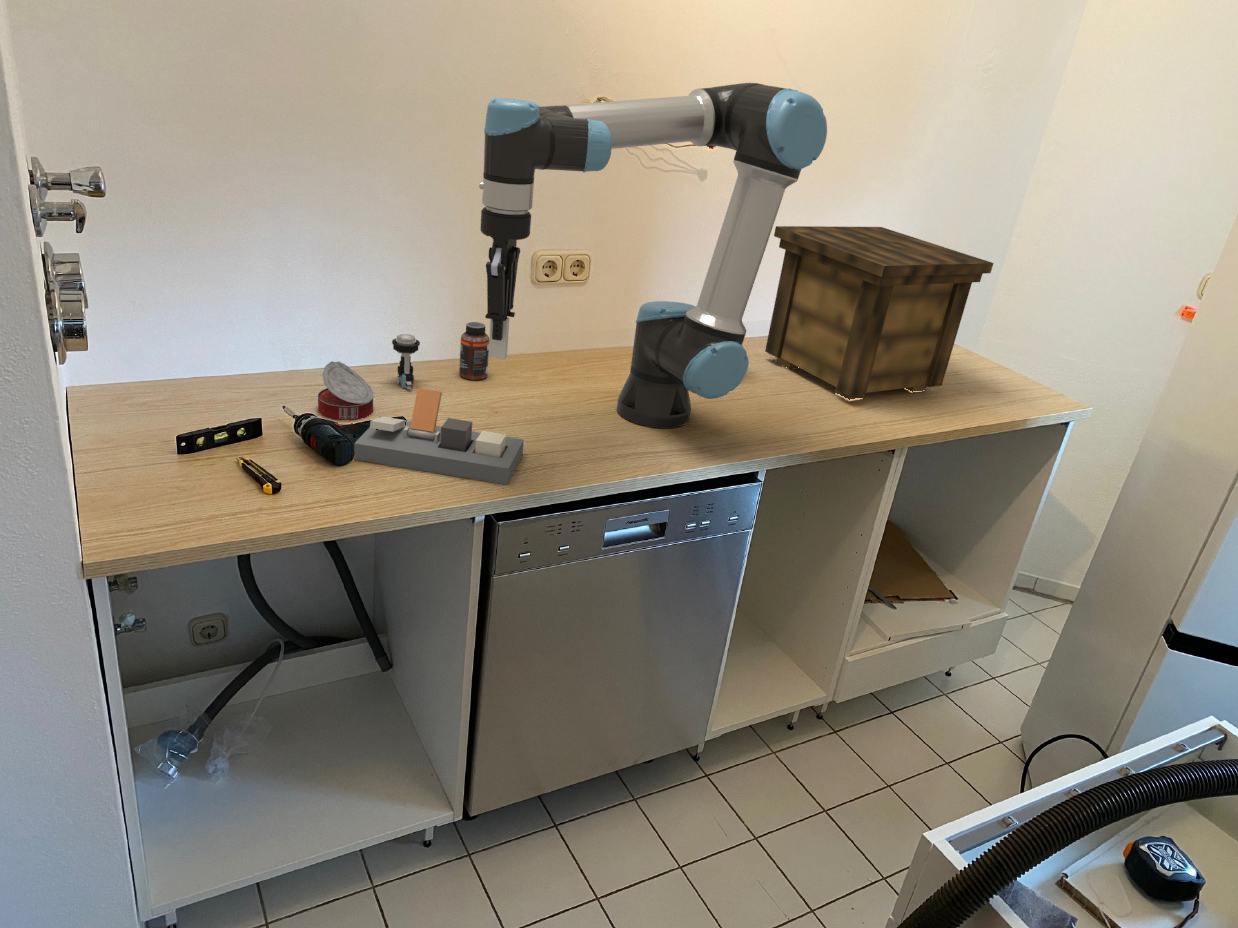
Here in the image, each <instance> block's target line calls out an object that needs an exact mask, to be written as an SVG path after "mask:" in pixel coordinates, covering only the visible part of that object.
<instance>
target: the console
mask: <svg viewBox="0 0 1238 928" xmlns="http://www.w3.org/2000/svg"><path fill="white" fill-rule="evenodd" d="M380 417H381V416H379V417H378V418H380ZM405 422H406V425H405V426H404V427H403V428H401V429H398V430H396V431H394V432H392V431H386V430H380V429H378V430H376V429H374V428H370V427H368V428H367V430H366V431H365V432H364V433H363V434H362V435H361V436H359V438H358V439H357V440H356V441H355V442H354V451H353V452H354V461H362V462H368V463H373V464H379V465H385V466H391V467H396V468H397V467H398V468H402V469H403V468H404V469H407V470H408V469H410V470H415V471H422V472H427V473H432V474H433V473H434V474H439V475H447V476H451V477H458V478H464V479H471V480H474V481H475V480H477V481H481V480H482V481H483V482H489V483H495V484H501V485H508V484H509V482H510V480H511V478H512V477H513V474H514V472H515V470H516V468H517V467H518V465H519V463H520V461H521V459H522V457H523V455H524V454H523V453H524V442H525V440H524V439H521V438H517V437H516V438H514V437H510V436H509V437H508V436H506V445H505V452H504V454H503V456H502V458H500V457H494V456H487V455H481V454H475V447H476V439H477V438H478V436H479V435H480V433H481V432H479V431H473V430H472V437H471V444H470V446H469V447H468V449H467V450H466V452H463V451H457V450H451V449H444V448H440V444H441V427H442V426H443V425H436V428H435V437H434V439H428V438H422V437H416V436H409V435H408V431H409V429H411V428H410V427H411V422H412V420H411V421H410V420H405Z"/></svg>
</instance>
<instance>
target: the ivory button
mask: <svg viewBox="0 0 1238 928" xmlns="http://www.w3.org/2000/svg"><path fill="white" fill-rule="evenodd" d="M479 433H480V435H479V436H478V438H477V439H476V447H475V454H481V455H487V456H494V457H500V458H502V456H503V454H504V452H505V445H506V437H507V434H506V433H505V434H504V433H498V432H493V431H488V430H487V431H486V430H481V432H479Z"/></svg>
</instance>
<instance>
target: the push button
mask: <svg viewBox="0 0 1238 928" xmlns="http://www.w3.org/2000/svg"><path fill="white" fill-rule="evenodd" d="M391 344H392V346H393V350H394V351H395V352H396V353H398V354H400V361H399V365H397V378H396V383H397V385H399V383H400V385H401V387H402V389H407V390H412V385H414V378H415V377H414V367H413V365H412V362H411V358H412V357H411V355H412V354H415V353H417V352H418V351H419V346H420V344H421V342H420V341H419V340H418V339H416V336H414V335H412V334H409V333H406V334H405V333H403V334H398V335H397V336H396V338H394V339H392V341H391Z"/></svg>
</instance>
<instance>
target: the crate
mask: <svg viewBox="0 0 1238 928" xmlns="http://www.w3.org/2000/svg"><path fill="white" fill-rule="evenodd" d="M773 236H774V237H775V238H778V239H780V240H779V245H778V248H779V249H781V250H782V249H783V250H785V251H784V256H783V261H782V266H781V271H780V276H779V280H778V285H777V289H776V290H777V291H776V295H775V300H774V306H773V311H772V315H771V320H770V325H769V331H768V335H767V341H766V345H765V349H764V352H765V353H767V354H769V355H770V356H772V357H774V358H777V359H776V364H778V365H779V364H780V366H781V365H783V366H784V367H783V366H782V367H783V368H785V367H787V368H788V369H787V368H786V369H787V370H794V369H793V368H798V367H799V368H798V369H802V370H803V371H805V372H807V373H809V374H811V375H813V376H814V377H817V378H818V379H820V380H822V381H823V382H826V383H828V384H830V385H832V386H834V387H835V390H834V394H835V393H837V394H840V395H841V396H844V397H845V398H848V399H849V400H850V399H855V398H863V399H864V397H865V396H866V394H867V393H875V392H884V391H890V390H891V391H892V390H898V389H899V390H900V389H901V390H902V388H906V389H908V390H910V391H912V392H913V391H923V390H925V391H926V389H927V388H933V387H941V386H943V382H944V379H945V376H946V372H947V368H948V366H949V362H950V359H951V355H952V352H953V348H954V347H955V346H954V345H955V342H956V338H957V336H958V335H957V334H958V331H959V329H960V324H961V322H962V318H963V314H964V312H965V308H966V304H967V300H968V297H969V294H970V291H971V287H972V284H973V283H981V281H982V277H983V275H984V274H991V273H992V270H993V266H994V262H992V261H989V260H987V259H986V260H985V259H982V258H979V257H976V256H973V255H970V254H967V253H964V252H960V251H957V250H955V249H950V248H948V247H945V246H942V245H938V244H935V243H932V242H929V241H926V240H924V239H923V240H922V239H920V238H917V237H914V236H910V235H908V234H904V233H901V232H899V231H895V230H892V229H889V228H886V227H883V226H825V225H824V226H821V225H820V226H817V225H816V226H815V225H814V226H806V225H805V226H804V225H803V226H802V225H801V226H800V225H799V226H797V225H796V226H795V225H793V226H791V225H790V226H789V225H788V226H787V225H783V226H782V225H778V226H775V229H774V233H773Z"/></svg>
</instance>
